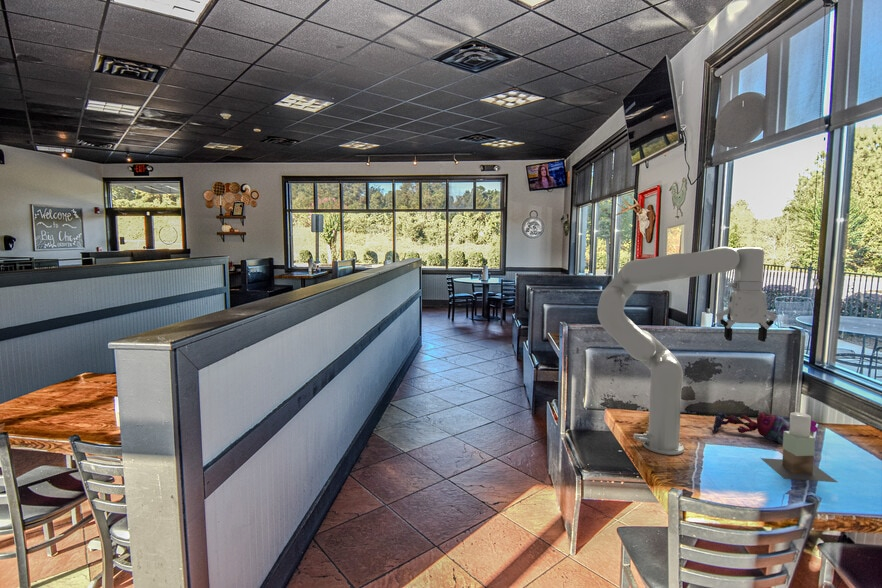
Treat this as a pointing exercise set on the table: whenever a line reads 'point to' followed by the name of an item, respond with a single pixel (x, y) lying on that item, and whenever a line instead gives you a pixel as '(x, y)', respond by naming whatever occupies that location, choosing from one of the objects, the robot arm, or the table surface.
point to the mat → (786, 474)
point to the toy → (760, 425)
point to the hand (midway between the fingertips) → (744, 340)
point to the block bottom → (798, 463)
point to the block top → (799, 444)
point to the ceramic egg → (800, 424)
